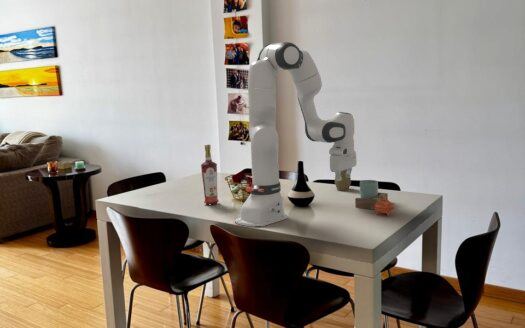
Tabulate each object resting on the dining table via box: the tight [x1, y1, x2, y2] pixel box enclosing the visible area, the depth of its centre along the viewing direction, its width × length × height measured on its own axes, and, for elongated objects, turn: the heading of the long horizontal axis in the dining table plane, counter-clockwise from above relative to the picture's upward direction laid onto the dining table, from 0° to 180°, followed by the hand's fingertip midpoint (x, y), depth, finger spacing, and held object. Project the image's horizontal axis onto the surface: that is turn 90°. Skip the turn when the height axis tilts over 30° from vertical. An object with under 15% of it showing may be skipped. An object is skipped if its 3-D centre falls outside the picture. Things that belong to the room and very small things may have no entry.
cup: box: [359, 179, 379, 199], centre depth 217 cm, size 8×8×10 cm
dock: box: [354, 191, 389, 210], centre depth 216 cm, size 14×9×4 cm, turn 145°
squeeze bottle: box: [334, 169, 352, 191], centre depth 247 cm, size 8×8×18 cm
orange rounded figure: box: [374, 199, 395, 217], centre depth 200 cm, size 8×8×7 cm
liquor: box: [200, 144, 220, 205], centre depth 229 cm, size 7×7×28 cm
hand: (343, 179), depth 222 cm, fingers open, 8 cm apart
